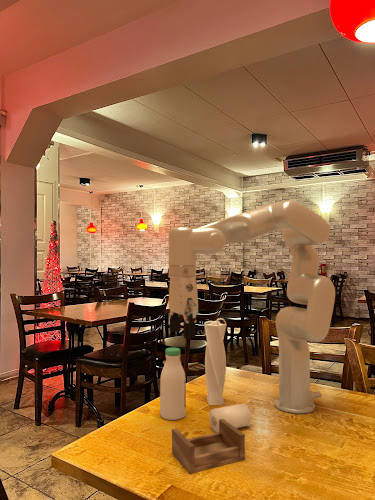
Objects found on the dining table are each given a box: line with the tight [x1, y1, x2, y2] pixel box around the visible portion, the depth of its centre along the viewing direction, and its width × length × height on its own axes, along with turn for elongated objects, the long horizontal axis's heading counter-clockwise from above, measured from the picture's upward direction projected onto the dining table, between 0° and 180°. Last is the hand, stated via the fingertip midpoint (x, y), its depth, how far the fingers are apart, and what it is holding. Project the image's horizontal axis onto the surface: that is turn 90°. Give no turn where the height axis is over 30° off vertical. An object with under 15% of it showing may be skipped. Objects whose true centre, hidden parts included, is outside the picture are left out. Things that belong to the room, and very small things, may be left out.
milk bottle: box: [159, 347, 187, 421], centre depth 118 cm, size 8×8×20 cm
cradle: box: [171, 419, 246, 475], centre depth 94 cm, size 14×10×6 cm
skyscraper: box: [203, 317, 227, 406], centre depth 129 cm, size 8×8×28 cm
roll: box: [208, 403, 252, 433], centre depth 109 cm, size 10×6×6 cm, turn 115°
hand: (182, 334), depth 107 cm, fingers open, 9 cm apart
